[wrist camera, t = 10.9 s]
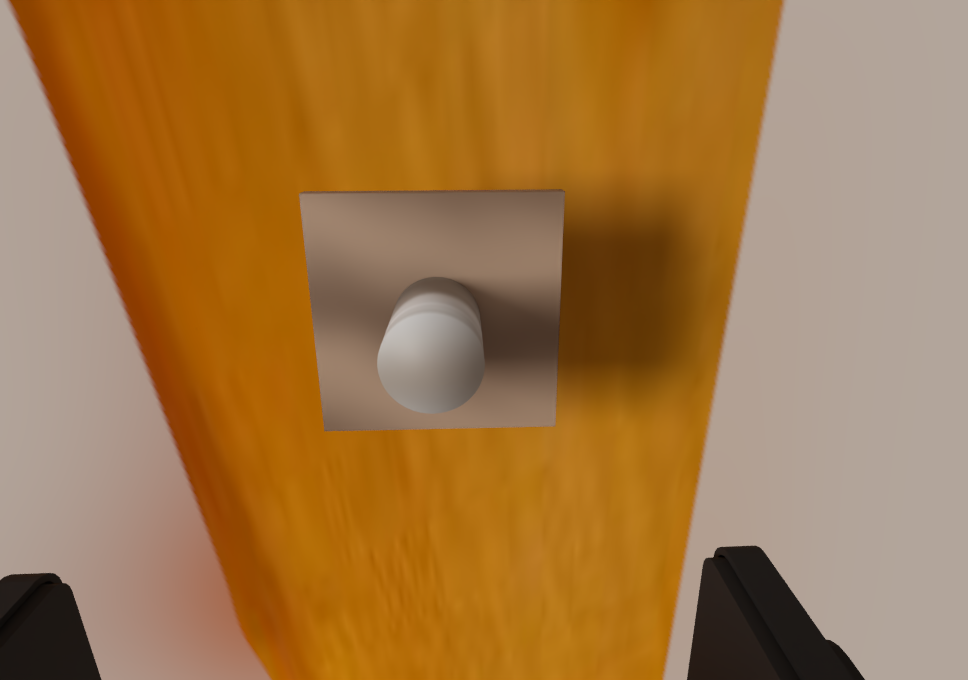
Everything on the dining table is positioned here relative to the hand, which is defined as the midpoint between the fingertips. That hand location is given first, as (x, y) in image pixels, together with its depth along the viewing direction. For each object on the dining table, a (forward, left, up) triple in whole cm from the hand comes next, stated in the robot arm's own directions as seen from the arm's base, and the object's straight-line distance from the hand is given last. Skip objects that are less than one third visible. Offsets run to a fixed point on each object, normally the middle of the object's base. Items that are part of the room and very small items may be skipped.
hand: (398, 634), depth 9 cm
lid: (0, 0, -17) cm, 17 cm away
